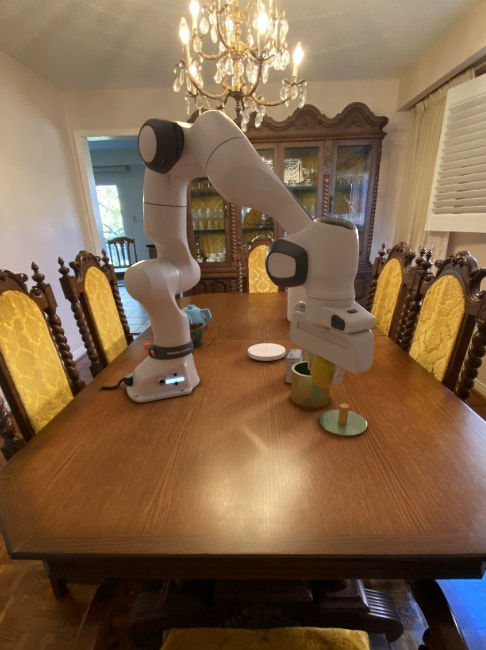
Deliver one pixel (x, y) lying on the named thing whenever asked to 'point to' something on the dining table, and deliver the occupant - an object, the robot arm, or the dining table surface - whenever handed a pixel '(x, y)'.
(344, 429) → the lid
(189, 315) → the teapot
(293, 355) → the medicine box
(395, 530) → the dining table surface
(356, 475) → the dining table surface
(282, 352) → the plastic lid
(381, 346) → the dining table surface
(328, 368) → the lemon
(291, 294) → the canister
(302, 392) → the tin
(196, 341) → the dark green pot
